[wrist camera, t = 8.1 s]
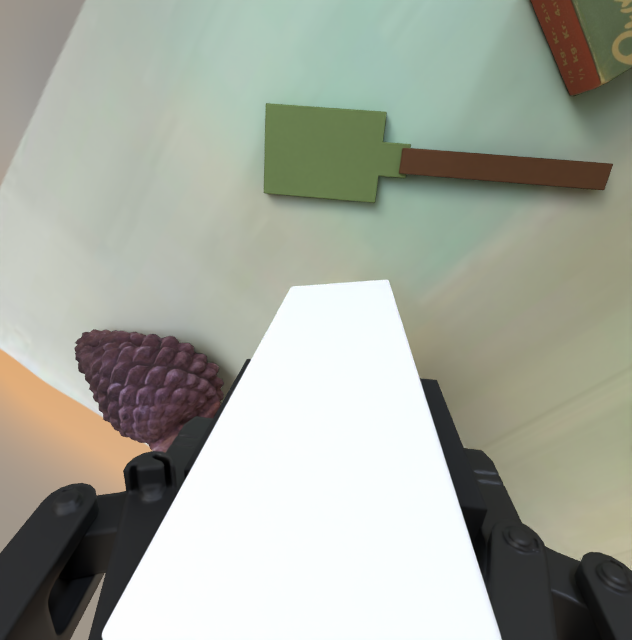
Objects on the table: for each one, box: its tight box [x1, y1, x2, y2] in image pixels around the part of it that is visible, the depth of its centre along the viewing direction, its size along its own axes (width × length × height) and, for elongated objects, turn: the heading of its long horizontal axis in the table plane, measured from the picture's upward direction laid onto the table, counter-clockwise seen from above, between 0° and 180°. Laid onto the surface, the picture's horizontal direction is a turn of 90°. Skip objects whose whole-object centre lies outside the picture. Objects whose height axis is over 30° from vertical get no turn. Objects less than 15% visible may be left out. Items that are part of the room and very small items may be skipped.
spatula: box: [264, 103, 613, 203], centre depth 29 cm, size 26×6×1 cm, turn 86°
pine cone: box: [75, 330, 224, 452], centre depth 35 cm, size 18×10×10 cm
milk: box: [102, 280, 502, 640], centre depth 14 cm, size 6×6×22 cm
